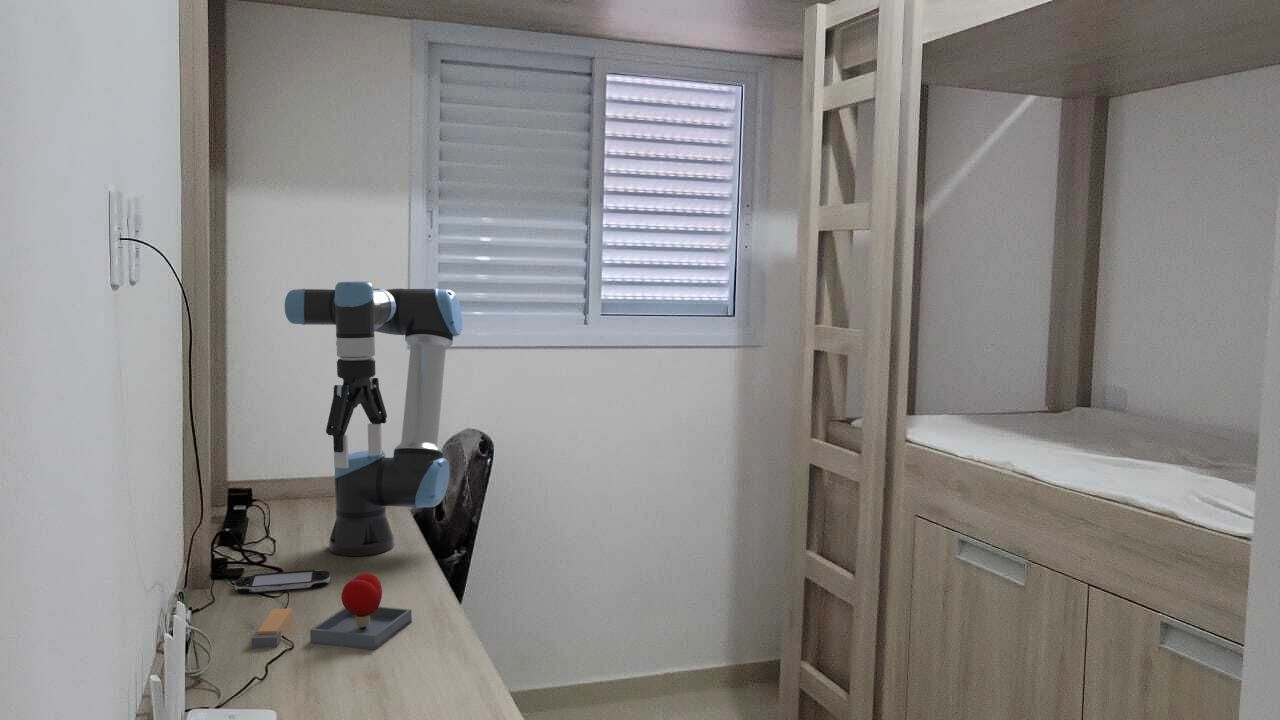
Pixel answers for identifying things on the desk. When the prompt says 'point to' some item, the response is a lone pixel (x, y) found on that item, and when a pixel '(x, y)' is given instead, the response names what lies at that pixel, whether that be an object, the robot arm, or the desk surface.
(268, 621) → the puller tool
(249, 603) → the desk surface
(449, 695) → the desk surface
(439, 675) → the desk surface
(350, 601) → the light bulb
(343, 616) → the parts tray
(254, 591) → the gaming console
